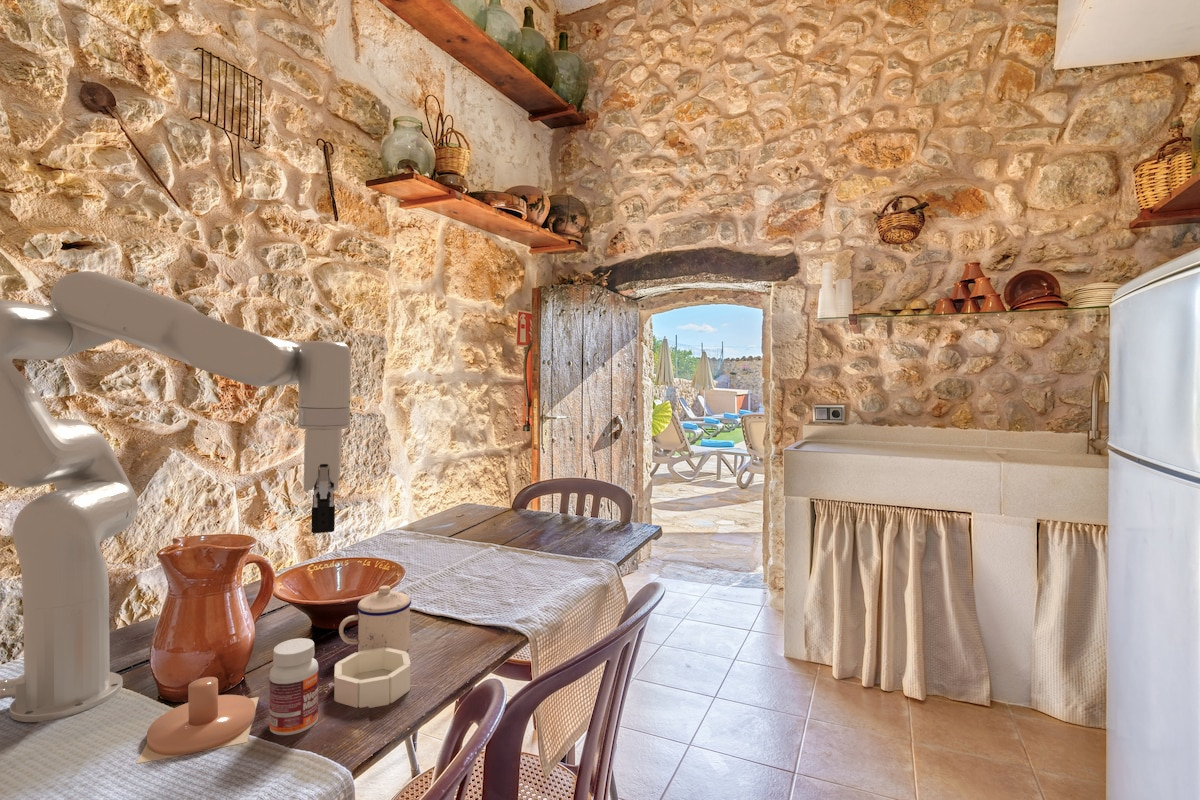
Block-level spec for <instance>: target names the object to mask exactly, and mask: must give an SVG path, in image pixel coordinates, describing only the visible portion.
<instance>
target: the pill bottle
mask: <svg viewBox="0 0 1200 800" xmlns="http://www.w3.org/2000/svg"><path fill="white" fill-rule="evenodd" d="M272 655H273V657H272V662H273V666H272V667H271V668H270V671H269V675H268V679H269V681H268V682H269V684H268V685H269V730H270V732H271V733H272V734H274V735H278V736H293V735H296V734H300V733H302V732H304V731H306V730H308V729H310V728H312V727H313V726H314V725H315V724H316V723H317V722H318V720H319V719H318V718H319V663H318V661H317V659H316V658H314V657H315V642H314V641H313V639H310V638H307V637H306V638H305V637H304V638H303V637H301V638H292V639H288V640H285V641H282V642H280V643H278V644H277V645H275V646H274V648H273V652H272Z"/></svg>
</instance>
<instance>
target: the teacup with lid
mask: <svg viewBox="0 0 1200 800" xmlns="http://www.w3.org/2000/svg"><path fill="white" fill-rule="evenodd" d="M411 605H412V600H411V598H410V597H409V595H407V594H406V593H404V592H400V591H399V592H398V591H396V590H392V589H391V587H390V586H389V585H381V586H379V588H378V591H376V592H374V593H372V594H369V595H366V596H364V598H361V599H360V600H359V602H358V604H357V607H356V610H357V612H358V614H353V615H348V616H347V617H345V618H343V620H342V621H341V622H340V624H339V627H338V633H339V636H340V638H341V640H342V641H343V642H344V643H346V644H347V645H357V647H358V648H357V649H358V650H357V652H358V651H364V650H370V649H377V648H383V647H385V648H387V647H388V648H392V649H396V650H401V651H405V652H407V653H408V650H409V649H410V621H411V620H410V613H411V611H410V610H411V609H410V608H411V607H410V606H411ZM355 621H358V627H357V628H358V629H357V631H358V632H357V633H358V634H357V637H356V638H350V637H347V636H346V634H345V633H344V630H345V629H344V628H345V626H346V625H347V624H348V623H351V622H355Z"/></svg>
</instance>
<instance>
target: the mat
mask: <svg viewBox="0 0 1200 800" xmlns="http://www.w3.org/2000/svg"><path fill="white" fill-rule="evenodd" d="M248 698H249V697H248ZM259 698H260V696H255V697H250V698H249V699H251V700H252V701H253V702H254V703H255V711H256V709H257V707H258V703H259ZM165 713H166V712H162V714H161V716H162V715H163V714H165ZM252 726H253V723H252V724H251V725H250V727H249V728H248V729H246V730H245V731H244V732H243V733H241V734H240V735H239V736H237V737H235V738H234V739H232V740H230V741H228V742H226V743H224V744H222V745H219V746H217V747H214V748H211V749H208V750H205V751H210V750H214V749H215V750H216V749H221V748H226V747H230V746H236V745H241V744H246V743H248V740H249V736H250V733H251V730H252V729H251V728H252ZM205 751H204V752H205ZM178 756H179V757H180V756H181V755H162V754H158V753H155V752H153V751H151V750H150V749H149V748H148V746H147V743H146V744H145V745H144V748H143V750H142V751H141V754H140V755H139V757H138V759H137V760H136V763H138V764H143V763H147V762H153V761H158V760H163V759H168V758H169V759H170V758H175V757H178ZM138 764H137V765H138Z"/></svg>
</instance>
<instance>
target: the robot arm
mask: <svg viewBox="0 0 1200 800" xmlns="http://www.w3.org/2000/svg"><path fill="white" fill-rule="evenodd" d="M50 298H51V303H50V304H46V305H42V304H36V303H31V302H29V303H28V302H23V301H19V300H18V301H17V300H13V299H6V298H0V482H1V483H3V484H5V485H7V486H9V487H12V488H17V489H18V488H19V489H28V488H35V487H42V486H45V485H49V484H53V486H54V488H55V489H56V490H53V491H51V492H48V493H45V494H42V495H40V496H38V497H37V498H34V499H33V500H31V501H30V502H28V503H27V504H26V505H25V506H24V507H23V508H21V510H20V511H19V512H18V514H17V516H16V517H15V520H14V522H13V525H12V538H13V539H12V540H13V544H14V547H15V551H16V553H17V558H18V562H19V566H20V573H21V574H20V575H21V588H22V592H21V593H22V607H23V608H22V610H23V612H22V613H23V615H22V617H23V621H22V622H23V623H22V624H23V626H22V627H23V674H20V675H19V676H18V677H17V678H4V679H0V700H3V699H8V698H11V699H12V700H13V699H14V700H13V701H12V702H11V703H10V705H9V711H8V712H9V717H10V718H11V719H12V720H15V721H16V722H17V721H18V722H21V723H22V722H23V723H39V722H46V721H52V720H57V719H61V718H65V717H69V716H73V715H76V714H79V713H82V712H85V711H88V710H90V709H93V708H95V707H98V706H99V705H102V704H104V703H106V702H107V701H108V700H110V699H112V698H113V697H115V696H117V694H119V692H121V690H122V689H123V686H124V684H123V683H124V682H123V679H124V678H123V676H122V675H120V674H119V673H118V672H114V671H113V672H112V671H110V667H111V665H110V663H111V662H110V661H111V660H110V659H111V658H110V655H111V654H110V652H111V651H110V589H109V588H110V587H109V585H110V583H109V570H108V565H107V562H106V560H105V557H104V554H103V553H102V550H101V545H100V544H101V542H103V541H105V540H107V539H109V538H112V537H114V536H116V535H118V534H120V533H122V532H124V531H125V530H126V529H127V528H129V527H130V526H131V524H132V523H133V522H134V521H135V519H136V516H137V514H138V510H139V503H138V498H137V495H136V492H135V490H134V488H133V485H132V484H131V482H130V480H129V478H128V476H127V474H126V473H125V471H124V469H123V467H122V465H121V463H120V461H119V460H118V458H117V455H116V454H115V452H114V450H113V449H112V448H113V447H112V446H111V445H110V442H109V441H108V440H107V438H106V437H105V435H103V433H101V432H100V430H98V429H97V428H96V427H94V426H93V425H91V424H89V423H88V422H85V421H82V420H79V419H74V418H73V419H72V418H58V419H55V418H54V417H53V416H52V414H51V412H50V411H49V409H48V408H47V406H46V404H45V403H44V401H43V399H42V397H41V395H40V392H39V391H38V390H37V388H36V387H35V386H34V384H33V383H32V382H31V381H30V380H29V378H27V377H26V376H25V375H24V374H23V373H22V372H21V371H20V370H19V369H17V367H16V366H15V365H14V363H13V360H34V361H36V360H37V361H48V360H49V361H50V360H53V361H54V360H59V359H62V358H64V359H65V358H67V357H70V356H73V355H75V354H79V353H81V352H85V351H87V350H90V349H93V348H97V347H99V346H101V345H105V344H108V343H110V342H113V341H117V340H118V341H122V342H124V343H128V344H129V345H133V346H137V347H139V348H142V349H145V350H148V351H151V352H154V353H158V354H159V355H160V354H161V355H163V356H165V357H168V358H170V359H171V360H174V361H178V362H181V363H183V364H186V365H188V366H191V367H193V368H196V369H199V370H201V371H204V372H208V373H210V374H214V375H216V376H219V377H223V378H226V379H228V380H232V381H235V382H238V383H241V384H244V385H248V386H254V387H279V386H288V385H289V386H290V385H298V396H297V397H298V405H297V406H298V408H297V409H298V411H297V413H298V414H297V416H298V417H297V421H298V422H297V423H298V424H297V428H298V429H300V430H302V429H303V430H305V434H304V443H303V444H304V447H303V448H304V449H303V451H304V452H303V453H304V454H303V492H304V493H306V494H308V493H309V491H312V490H313V491H312V492H313V494H312V506H311V533H312V534H325V533H333V532H334V531H335V528H336V527H335V525H336V524H335V519H336V518H335V517H336V513H335V511H336V509H335V508H336V505H335V494H334V492H336V491H338V488H339V484H340V483H339V481H340V475H341V474H340V473H341V463H342V460H341V459H342V433H343V432H342V431H343V429H345V430H346V429H349V428H351V372H352V371H351V370H352V369H351V368H352V367H351V366H352V365H351V363H352V352H351V349H350V347H349V346H348V344H346V343H344V342H341V341H340V342H339V341H329V340H309V341H308V340H307V341H305V342H300V341H291V340H289V339H288V340H287V339H282V338H277V337H273V336H266V335H262V334H260V333H256V332H253V331H250V330H247V329H244V328H241V327H238V326H235V325H233V324H230V323H226V322H225V321H220V320H218V319H216V318H212V317H211V316H208V315H206V314H204V313H202V312H200V311H199V310H198V309H196V307H195V306H193V305H191V304H189V303H187V302H184V301H181V300H179V299H176V298H173V297H169V296H167V295H164V294H161V293H158V292H155V291H152V290H149V289H147V288H144V287H141V286H139V285H137V284H136V283H134V282H132V281H128V280H126V279H122V278H118V277H115V276H111V275H107V274H104V273H100V272H97V271H86V270H82V271H76V272H71V273H68V274H65V275H64V276H62V277H60V278H59V279H58V280H57V281H56V282H55V284H53V287H52V289H51V294H50ZM120 689H121V690H120Z"/></svg>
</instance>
